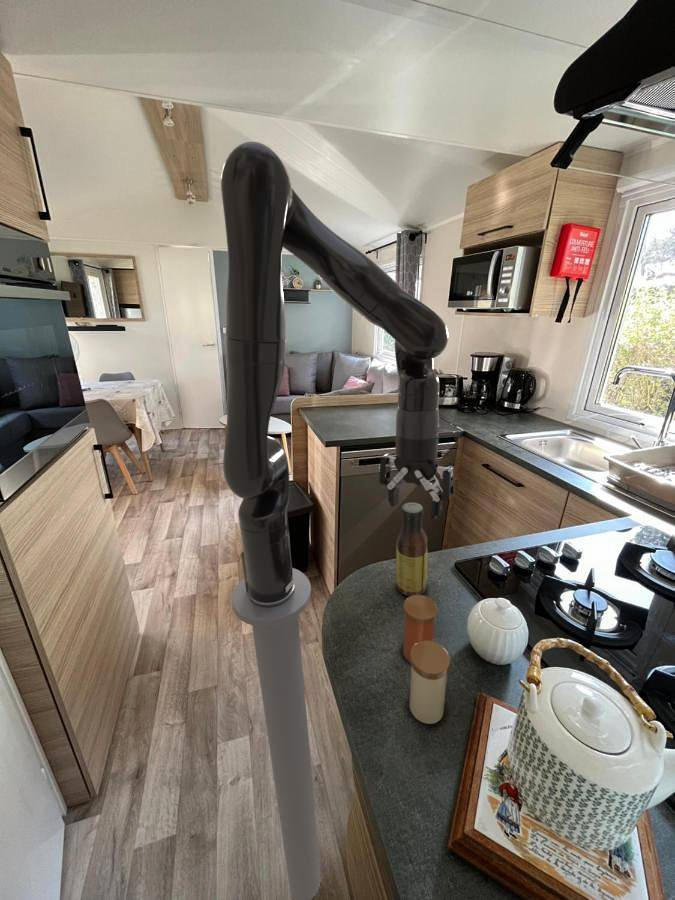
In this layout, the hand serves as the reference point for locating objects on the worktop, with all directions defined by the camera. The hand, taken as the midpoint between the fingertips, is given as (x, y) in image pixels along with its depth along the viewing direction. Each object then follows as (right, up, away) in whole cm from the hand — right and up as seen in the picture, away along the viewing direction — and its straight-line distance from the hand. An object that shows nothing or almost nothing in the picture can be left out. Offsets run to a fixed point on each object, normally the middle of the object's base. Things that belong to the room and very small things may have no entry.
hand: (414, 510), depth 74 cm
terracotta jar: (-1, -23, -8) cm, 25 cm away
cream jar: (-2, -27, -17) cm, 32 cm away
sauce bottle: (+1, -18, +7) cm, 19 cm away
